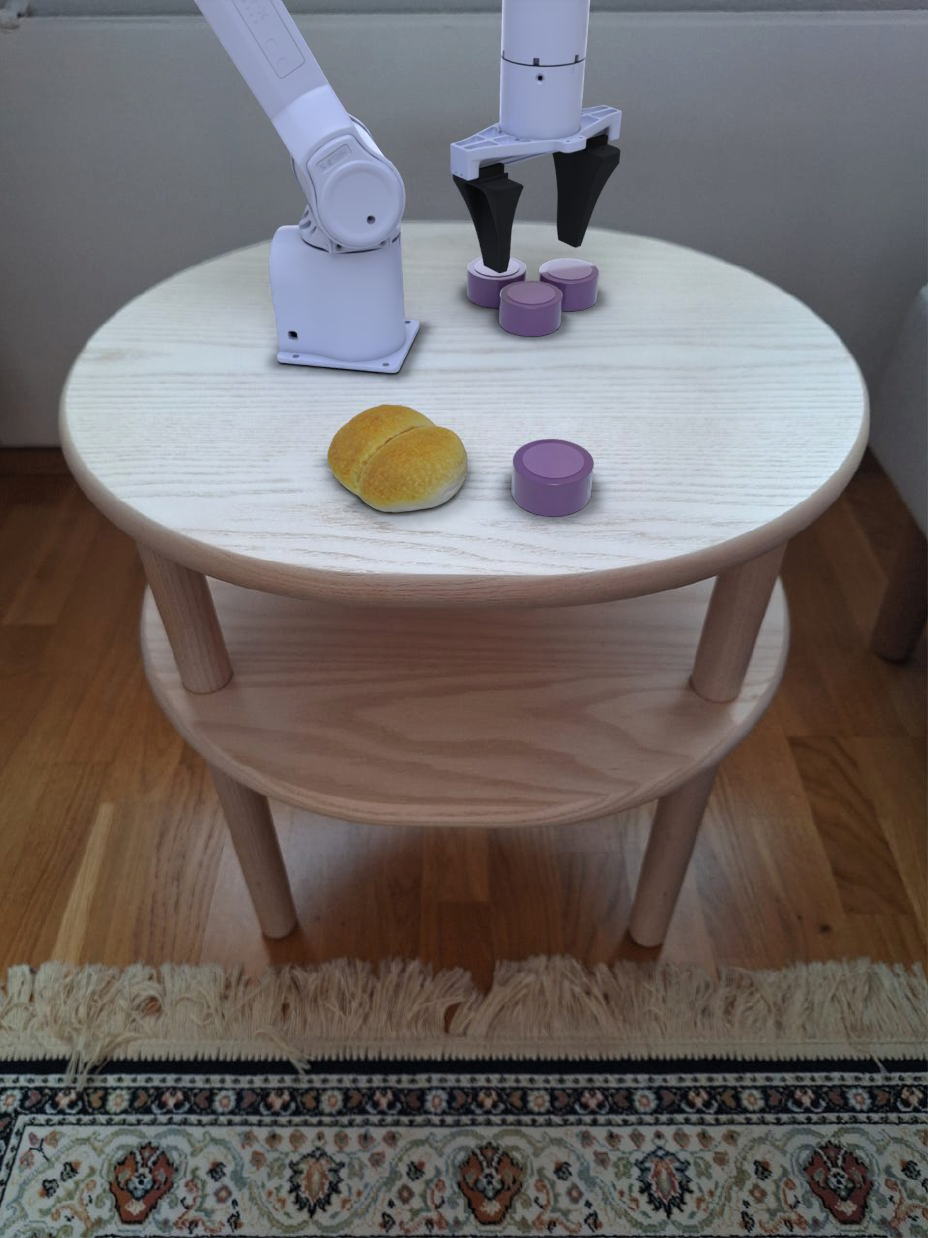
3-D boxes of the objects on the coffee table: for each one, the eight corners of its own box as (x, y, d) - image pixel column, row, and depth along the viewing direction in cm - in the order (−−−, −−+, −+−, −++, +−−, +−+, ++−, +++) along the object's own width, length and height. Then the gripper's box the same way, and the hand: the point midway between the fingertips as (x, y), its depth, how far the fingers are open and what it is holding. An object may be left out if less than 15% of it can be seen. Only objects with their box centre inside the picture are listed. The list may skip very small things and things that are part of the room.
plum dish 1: (494, 333, 76) (495, 304, 74) (504, 306, 79) (505, 277, 77) (556, 339, 75) (558, 309, 73) (563, 311, 78) (565, 282, 77)
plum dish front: (505, 511, 59) (506, 478, 57) (517, 466, 62) (518, 433, 60) (586, 520, 58) (590, 487, 56) (593, 474, 61) (597, 441, 60)
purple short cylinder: (461, 305, 79) (461, 276, 78) (472, 280, 83) (472, 252, 81) (521, 310, 79) (522, 281, 77) (529, 284, 82) (530, 256, 80)
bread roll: (399, 535, 57) (395, 480, 54) (310, 472, 62) (303, 419, 59) (497, 480, 61) (499, 426, 58) (407, 425, 66) (404, 373, 63)
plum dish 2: (533, 308, 79) (535, 279, 77) (541, 283, 82) (543, 254, 81) (594, 313, 78) (596, 284, 76) (599, 287, 82) (601, 259, 80)
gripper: (498, 87, 58) (493, 298, 68) (661, 50, 65) (636, 247, 74) (429, 63, 62) (434, 266, 72) (589, 31, 69) (575, 220, 78)
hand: (533, 255), depth 73 cm, fingers open, 7 cm apart
